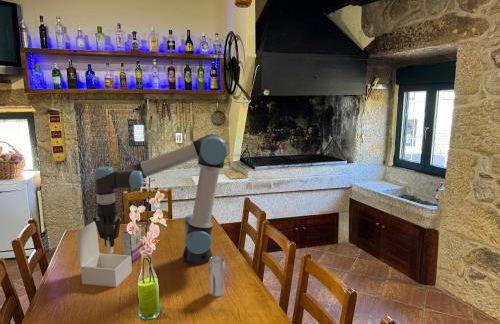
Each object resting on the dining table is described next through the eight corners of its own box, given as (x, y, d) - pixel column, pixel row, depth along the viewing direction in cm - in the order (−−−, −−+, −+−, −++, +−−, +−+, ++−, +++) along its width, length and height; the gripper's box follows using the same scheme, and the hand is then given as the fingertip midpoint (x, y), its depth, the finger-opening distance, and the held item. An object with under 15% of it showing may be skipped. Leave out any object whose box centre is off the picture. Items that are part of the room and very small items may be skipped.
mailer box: (131, 271, 163) (131, 255, 162) (116, 287, 150) (115, 269, 148) (100, 268, 166) (99, 253, 165) (82, 283, 152) (80, 266, 151)
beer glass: (206, 291, 147) (205, 257, 145) (221, 287, 151) (221, 254, 148) (212, 299, 141) (212, 264, 139) (228, 294, 145) (228, 261, 142)
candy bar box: (134, 253, 183) (133, 223, 180) (143, 254, 182) (141, 224, 179) (123, 263, 172) (121, 231, 169) (132, 264, 171) (130, 232, 168)
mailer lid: (95, 221, 162) (94, 221, 162) (76, 232, 148) (74, 231, 148) (99, 253, 165) (98, 252, 165) (80, 266, 151) (79, 266, 151)
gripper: (87, 204, 149) (92, 255, 153) (115, 205, 147) (119, 257, 151) (97, 199, 156) (102, 248, 160) (124, 200, 154) (128, 250, 158)
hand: (110, 253), depth 156 cm, fingers closed
